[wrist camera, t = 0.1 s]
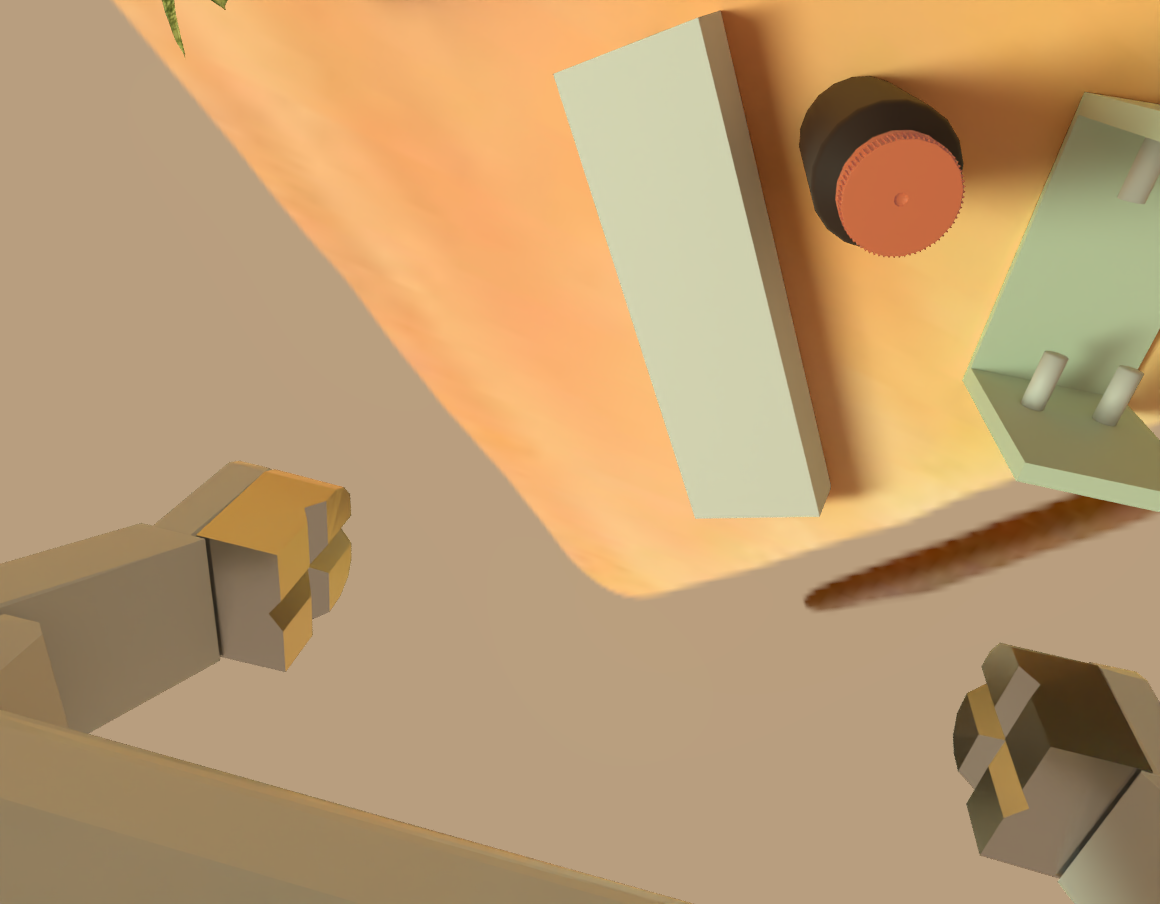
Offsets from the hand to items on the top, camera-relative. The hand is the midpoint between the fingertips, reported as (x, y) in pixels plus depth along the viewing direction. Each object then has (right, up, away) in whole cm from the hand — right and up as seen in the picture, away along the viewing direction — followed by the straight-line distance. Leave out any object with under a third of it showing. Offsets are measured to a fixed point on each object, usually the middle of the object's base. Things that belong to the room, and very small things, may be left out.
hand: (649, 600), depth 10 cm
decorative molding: (+8, +13, +48) cm, 50 cm away
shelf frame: (+32, +14, +41) cm, 54 cm away
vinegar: (+16, +22, +40) cm, 49 cm away
